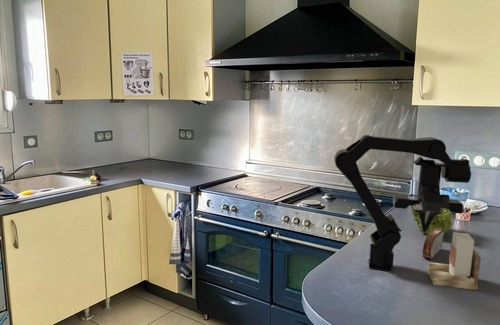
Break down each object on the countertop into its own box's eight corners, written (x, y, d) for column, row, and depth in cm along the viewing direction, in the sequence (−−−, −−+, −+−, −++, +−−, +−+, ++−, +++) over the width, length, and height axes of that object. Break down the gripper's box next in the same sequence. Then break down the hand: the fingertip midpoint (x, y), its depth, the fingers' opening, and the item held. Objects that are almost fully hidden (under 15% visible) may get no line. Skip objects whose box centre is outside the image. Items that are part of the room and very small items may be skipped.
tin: (434, 247, 145) (436, 224, 143) (443, 249, 143) (446, 226, 141) (420, 260, 133) (423, 235, 132) (430, 262, 131) (433, 237, 130)
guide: (433, 284, 116) (437, 254, 114) (427, 270, 126) (430, 241, 124) (477, 290, 113) (481, 259, 112) (467, 274, 123) (471, 246, 122)
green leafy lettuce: (471, 230, 149) (443, 203, 145) (434, 252, 156) (406, 227, 152) (456, 202, 165) (431, 177, 161) (423, 223, 172) (398, 199, 168)
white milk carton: (452, 279, 117) (456, 238, 115) (447, 270, 122) (451, 232, 120) (469, 281, 116) (474, 240, 114) (463, 272, 121) (468, 233, 119)
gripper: (399, 183, 116) (394, 237, 118) (471, 189, 112) (465, 244, 114) (394, 176, 126) (390, 225, 129) (461, 181, 122) (455, 231, 125)
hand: (424, 231), depth 124 cm, fingers closed
